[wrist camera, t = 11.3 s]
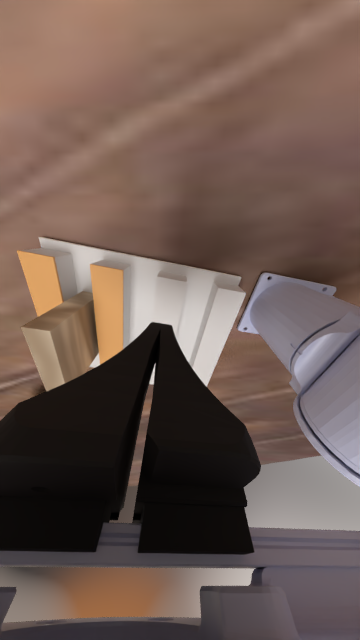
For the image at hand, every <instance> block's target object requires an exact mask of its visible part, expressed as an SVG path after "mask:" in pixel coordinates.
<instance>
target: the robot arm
mask: <svg viewBox="0 0 360 640" xmlns="http://www.w3.org/2000/svg"><path fill="white" fill-rule="evenodd" d="M269 276H270V279H268V280H267V278H268V277H269ZM323 288H324V289H323ZM322 289H323V290H322ZM336 289H337V288H336V287H334V286H330V285H325V284H320V283H315V282H311V281H306V280H301V279H296V278H291V277H286V276H281V275H276V274H271V273H266V272H264V273H262V274H261V275H260V277H259V280H258V282H257V284H256V286H255V289H254V291H253V293H252V295H251V298H250V300H249V302H248V304H247V306H246V309H245V311H244V313H243V315H242V318H241V320H240V322H239V324H238V327H237V328H238V330H239V331H242V332H248V333H255V334H260V335H261V337H262V338H263V339H264V341H265V342H266V343H267V344H268V346H269V347H270V348H271V349H272V351H273V352H274V353H275V354H276V356H277V357H278V358H279V359H280V361H281V362H282V363H283V364H284V366H285V367H286V368H287V370H288V371H289V372H290V373H291V375H292V379H291V381H290V383H289V384H290V385H291V387H292V388H293V389H294V391H295V392H296V394H297V395H298V396H297V397H296V398H295V400H294V403H293V410H294V414H295V417H296V420H297V422H298V424H299V426H300V428H301V430H302V431H303V433H304V434H305V436H306V437H307V439H308V440H309V441H310V443H311V444H312V445H313V446H314V448H315V449H316V450H317V451H318V452H319V453H320V454H321V455H322V456H323V457H324V458H325V459H326V460H327V461H328V462H329V463H330V464H331V465H332V466H333V467H334V468H335V469H336V470H338V471H339V472H340V473H341V474H342V475H343V476H345V477H346V478H348V479H349V480H350V481H352V482H353V483H354V484H356V485H358V486H359V487H360V307H358V306H356V305H353V304H351V303H348V302H346V301H344V300H341V299H339V298H336V297H334V296H333V294H334V293H335V292H336ZM245 327H246V328H245ZM244 328H245V329H244ZM154 365H155V375H154V388H153V399H152V405H151V411H150V417H149V423H148V429H147V435H146V441H145V447H144V454H143V460H142V466H141V472H140V478H139V484H138V491H137V497H136V503H135V510H134V516H133V522H132V523H109V520H118V517H119V512H120V510H122V508H123V507H124V502H125V497H126V491H127V486H128V481H129V476H130V471H131V466H132V460H133V455H134V450H135V445H136V440H137V435H138V430H139V425H140V420H141V415H142V410H143V405H144V400H145V396H146V393H147V389H148V386H149V383H150V379H151V376H152V372H153V369H154ZM260 468H261V464H260V461H259V459H258V456H257V453H256V450H255V447H254V445H253V442H252V440H251V437H250V435H249V433H248V431H247V428H246V426H245V425H244V424H243V423H242V422H241V421H240V420H239V419H238V418H237V417H236V416H235V415H234V414H232V413H231V412H230V411H229V410H228V409H227V408H226V407H225V406H224V405H223V404H222V403H221V402H220V401H219V400H218V399H217V398H216V397H215V396H214V395H213V394H212V393H211V391H210V390H209V389H208V388H207V387H206V385H205V384H204V383H203V382H202V381H201V379H200V378H199V377H198V376H197V374H196V373H195V371H194V370H193V369H192V367H191V366H190V364H189V362H188V361H187V359H186V357H185V356H184V354H183V352H182V350H181V348H180V346H179V344H178V342H177V339H176V337H175V334H174V331H173V327H172V325H169V324H162V323H156V322H151V323H150V324H149V325H148V327H147V328H146V329H145V330H144V331H143V332H142V333H141V334H140V335H139V336H138V337H137V338H136V339H135V340H134V341H132V342H131V343H130V344H129V345H128V346H126V347H125V348H124V349H123V350H121V351H120V352H119V353H117V354H116V355H114V356H113V357H111V358H110V359H108V360H107V361H105V362H104V363H102V364H100V365H99V366H97V367H95V368H94V369H92V370H90V371H88V372H86V373H84V374H83V375H81V376H79V377H77V378H75V379H73V380H71V381H69V382H67V383H64V384H62V385H60V386H58V387H56V388H53V389H51V390H49V391H46V392H44V393H42V394H39V395H37V396H35V397H32V398H30V399H28V400H25V401H23V402H20V403H18V404H17V405H16V406H15V407H14V408H13V409H12V410H11V411H10V412H9V413H8V414H7V415H6V416H5V417H4V418H3V419H2V420H1V421H0V567H132V568H134V567H136V568H139V567H143V568H145V567H146V568H256V569H254V571H253V573H252V580H251V584H250V585H249V586H202V587H201V589H200V603H201V618H177V617H176V618H174V617H102V618H77V619H60V620H43V621H26V622H10V623H3V620H4V618H5V616H6V614H7V611H8V609H9V607H10V605H11V603H12V601H13V598H14V596H15V594H16V587H0V640H360V531H343V530H312V529H283V528H281V529H280V528H254V527H253V528H251V527H248V522H247V518H246V514H245V509H244V507H246V506H247V500H246V496H245V492H244V488H243V487H245V486H246V485H247V484H248V483H250V482H251V481H252V480H253V479H255V478H256V476H257V475H258V474H259V472H260Z"/></svg>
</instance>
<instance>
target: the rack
mask: <svg viewBox="0 0 360 640" xmlns="http://www.w3.org/2000/svg"><path fill="white" fill-rule="evenodd" d="M39 240H40V244H41V248H38V249H27V250H17V252H18V255H19V258H20V262H21V265H22V268H23V271H24V274H25V277H26V280H27V284H28V287H29V290H30V293H31V296H32V299H33V303H34V306H35V309H36V312H37V315H38V317H39V316H40V315H42V314H44V313H46V312H47V311H49V310H51V309H53V308H54V307H56V306H58V305H59V304H61V303H63V302H65V301H66V300H68V299H70V298H71V297H73V296H75V295H77V294H78V293H80V292H82V291H85V292H91V293H93V301H94V311H95V320H96V330H97V340H98V349H99V353H98V355H97V356H96V358H95V359H94V360H93V362H92V363H91V365H90V366H89V367H97V366H99V365H100V364H102V363H104V362H105V361H107V360H108V359H110V358H111V357H113V356H114V355H116V354H117V353H119V352H120V351H121V350H123V349H124V348H125V347H126V346H128V345H129V344H130V343H131V342H132V341H134V340H135V339H136V338H137V337H138V336H139V335H140V334H141V333H142V332H143V331H144V330H145V329H146V328H147V327H148V325H149V324H150V323H151V322H156V323H162V324H169V325H172V327H173V331H174V334H175V337H176V339H177V342H178V344H179V346H180V348H181V350H182V352H183V354H184V356H185V357H186V359H187V361H188V362H189V364H190V366H191V367H192V369H193V370H194V371H195V373H196V374H197V376H198V377H199V378H200V379H201V381H202V382H203V383H204V384H205V385H206V387H207V385H208V382H209V380H210V378H211V375H212V373H213V371H214V368H215V366H216V363H217V361H218V359H219V356H220V354H221V352H222V349H223V347H224V345H225V342H226V340H227V338H228V335H229V333H230V331H231V328H232V326H233V324H234V321H235V319H236V316H237V314H238V312H239V309H240V307H241V305H242V302H243V300H244V298H245V295H246V292H245V291H243V290H242V289H241V288H240V287H239V286H238V285H239V283H240V280H241V277H240V276H236V275H231V274H226V273H221V272H216V271H211V270H206V269H201V268H196V267H191V266H186V265H181V264H176V263H171V262H166V261H161V260H156V259H151V258H146V257H141V256H136V255H131V254H125V253H120V252H115V251H110V250H105V249H100V248H95V247H90V246H85V245H80V244H75V243H70V242H65V241H60V240H55V239H50V238H45V237H39ZM154 375H155V365H154V369H153V372H152V376H151V379H150V383H149V384H154Z"/></svg>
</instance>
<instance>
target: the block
mask: <svg viewBox="0 0 360 640" xmlns="http://www.w3.org/2000/svg"><path fill="white" fill-rule="evenodd" d="M21 329H22V331H23V334H24V336H25V339H26V341H27V344H28V346H29V349H30V351H31V354H32V356H33V359H34V361H35V364H36V366H37V369H38V372H39V374H40V377H41V379H42V382H43V384H44V387H45V389H46V391H49V390H51V389H53V388H56V387H58V386H60V385H62V384H64V383H67V382H69V381H71V380H73V379H75V378H77V377H79V376H81V375H83V374H84V373H85V372H86V371H87V369H88V368H89V366H90V365H91V363H92V362H93V360H94V359H95V358H96V356H97V355H98V353H99V349H98V340H97V330H96V320H95V311H94V301H93V293H91V292H85V291H82V292H80V293H78V294H77V295H75V296H73V297H71V298H70V299H68V300H66V301H65V302H63V303H61V304H59V305H58V306H56V307H54V308H53V309H51V310H49V311H47V312H46V313H44V314H42V315H40V316H39V317H37V318H35V319H34V320H32V321H30V322H28V323H27V324H25V325H23V326H22V327H21Z"/></svg>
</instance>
